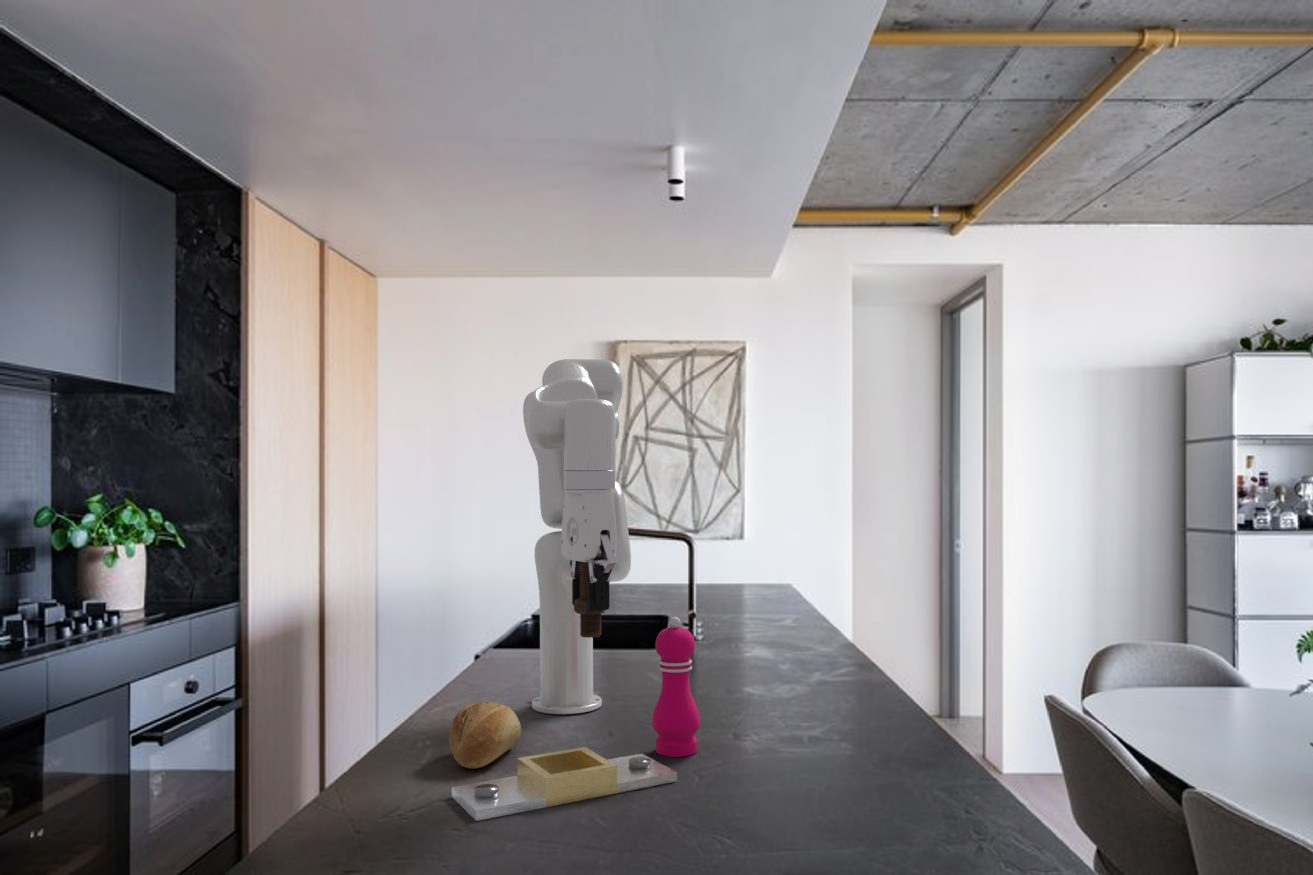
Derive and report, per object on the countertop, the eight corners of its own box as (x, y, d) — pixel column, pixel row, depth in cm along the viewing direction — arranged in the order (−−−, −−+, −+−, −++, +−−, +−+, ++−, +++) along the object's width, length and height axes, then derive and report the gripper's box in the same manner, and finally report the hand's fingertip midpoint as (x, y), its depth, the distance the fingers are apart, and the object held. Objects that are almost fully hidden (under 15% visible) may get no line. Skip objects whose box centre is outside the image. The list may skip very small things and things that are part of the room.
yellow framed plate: (451, 796, 119) (451, 769, 119) (641, 761, 132) (641, 737, 133) (476, 820, 110) (476, 791, 110) (677, 781, 124) (676, 754, 124)
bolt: (602, 640, 131) (601, 535, 131) (568, 639, 132) (567, 535, 132) (612, 633, 137) (611, 532, 137) (579, 632, 138) (579, 532, 138)
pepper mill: (706, 746, 140) (704, 614, 141) (692, 760, 133) (690, 621, 134) (661, 742, 142) (659, 612, 143) (645, 755, 135) (644, 619, 136)
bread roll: (434, 773, 129) (434, 716, 129) (470, 743, 143) (470, 692, 144) (500, 776, 127) (499, 718, 128) (530, 745, 142) (529, 693, 142)
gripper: (544, 482, 140) (544, 602, 140) (591, 484, 126) (592, 617, 125) (588, 482, 144) (589, 598, 144) (639, 483, 129) (640, 613, 129)
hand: (590, 606), depth 134 cm, fingers closed on bolt, 4 cm apart
